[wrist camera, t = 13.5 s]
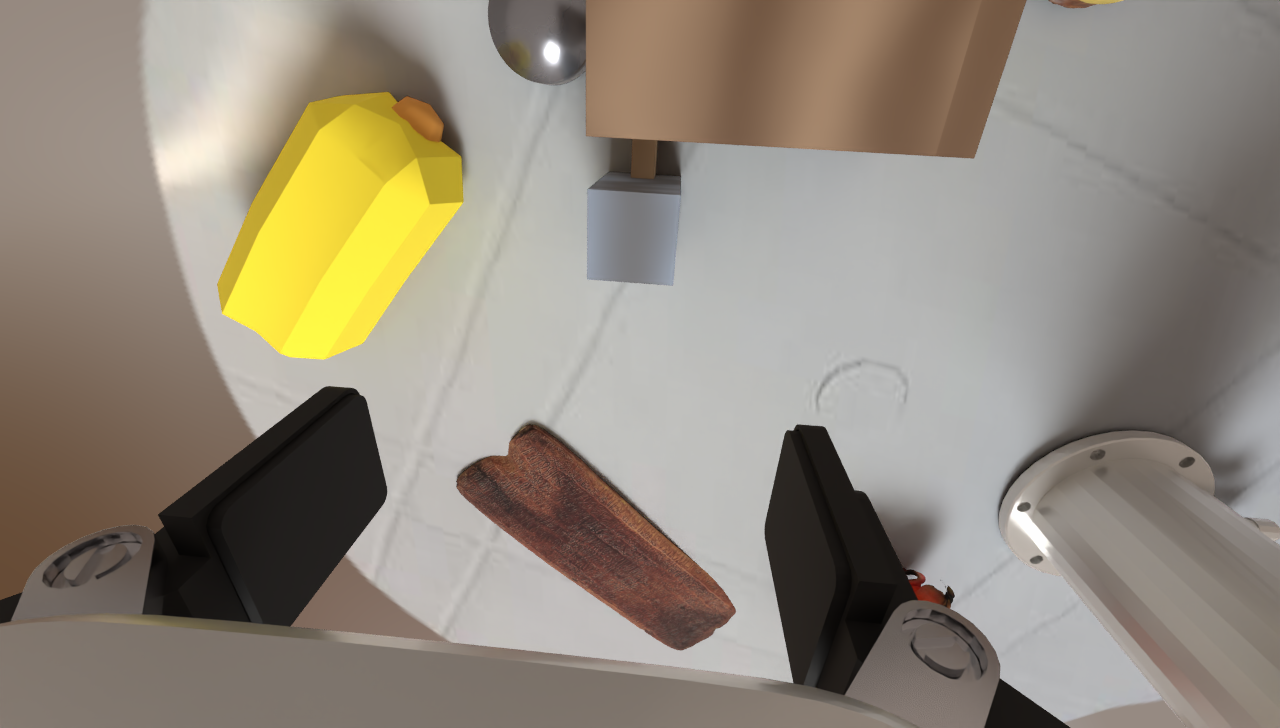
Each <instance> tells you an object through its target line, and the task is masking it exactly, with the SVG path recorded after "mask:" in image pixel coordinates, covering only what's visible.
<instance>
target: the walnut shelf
mask: <svg viewBox="0 0 1280 728" xmlns="http://www.w3.org/2000/svg"><path fill="white" fill-rule="evenodd" d="M1025 3H1026V0H586V136H593V137H610V138H628V139H645V140H662V141H680V142H697V143H715V144H732V145H749V146H767V147H784V148H802V149H819V150H836V151H854V152H871V153H888V154H906V155H923V156H941V157H958V158H974V157H975V154H976V151H977V148H978V145H979V142H980V139H981V136H982V133H983V130H984V127H985V124H986V121H987V118H988V115H989V112H990V109H991V106H992V103H993V100H994V97H995V94H996V91H997V88H998V85H999V82H1000V79H1001V76H1002V73H1003V70H1004V67H1005V64H1006V61H1007V58H1008V54H1009V51H1010V48H1011V45H1012V42H1013V39H1014V36H1015V33H1016V30H1017V27H1018V24H1019V21H1020V18H1021V15H1022V12H1023V9H1024V6H1025Z"/></svg>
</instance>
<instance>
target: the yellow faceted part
mask: <svg viewBox="0 0 1280 728" xmlns="http://www.w3.org/2000/svg"><path fill="white" fill-rule="evenodd" d="M443 127H444V124H443V122H442V121H441V119H440V118H439V117H438V115H437V114H436V112H435V111H434V110H433V108H432V107H431V106H430V104H427V103H424V102H422V101H419V100H416V99H414V98H411V97H408V96H406V97H405V98H403V99H402V100H400V101H399V102H397V101H396V100H395V99H394V97H393V96H392V95H391V94H390V93H389V92H381V93H369V94H356V95H343V96H337V97H332V98H328V99H323V100H319V101H314V102H310V103H309V104H308V105H307V107H306V109H305V111H304V113H303V114H302V116H301V118H300V120H299V121H298V123H297V125H296V127H295V128H294V130H293V132H292V134H291V135H290V137H289V139H288V141H287V142H286V144H285V146H284V148H283V149H282V151H281V153H280V155H279V156H278V158H277V160H276V162H275V163H274V165H273V167H272V169H271V171H270V172H269V174H268V176H267V178H266V179H265V181H264V183H263V185H262V186H261V188H260V190H259V192H258V193H257V195H256V197H255V199H254V200H253V202H252V204H251V206H250V209H249V211H248V213H247V216H246V218H245V220H244V223H243V225H242V228H241V230H240V232H239V235H238V237H237V239H236V242H235V244H234V246H233V249H232V251H231V253H230V256H229V258H228V260H227V263H226V265H225V267H224V270H223V272H222V274H221V277H220V279H219V281H218V284H217V286H218V292H219V298H220V304H221V310H222V314H224V315H226V316H228V317H229V318H231V319H233V320H235V321H237V322H239V323H241V324H243V325H245V326H247V327H249V328H250V329H252V330H254V331H256V332H257V333H258V334H259V335H260V336H262V337H263V338H264V339H265V340H266V341H267V342H268V343H269V344H270V345H271V346H272V347H273V348H275V349H276V350H277V351H278V352H279V353H280V354H283V355H286V356H288V357H297V358H311V359H327V358H329V357H331V356H334V355H336V354H339V353H341V352H343V351H346V350H348V349H351V348H353V347H355V346H358V345H360V344H363V342H364V341H365V339H366V338H367V336H368V335H369V334H370V332H371V331H372V329H373V328H374V326H375V325H376V323H377V322H378V320H379V319H380V317H381V316H382V314H383V313H384V311H385V310H386V308H387V307H388V305H389V304H390V303H391V301H392V300H393V298H394V297H395V295H396V294H397V292H398V291H399V289H400V288H401V286H402V285H403V283H404V282H405V280H406V279H407V278H408V276H409V275H410V274H411V272H412V271H413V270H414V268H415V267H416V266H417V264H418V263H419V262H420V260H421V259H422V257H423V256H424V255H425V253H426V252H427V251H428V249H429V248H430V247H431V245H432V244H433V243H434V241H435V240H436V239H437V237H438V236H439V234H440V233H441V232H442V230H443V229H444V228H445V226H446V225H447V224H448V222H449V221H450V220H451V218H452V217H453V216H454V214H455V213H456V212H457V210H458V209H459V207H460V206H461V205H462V203H463V182H462V160H461V156H460V155H459V154H457V153H456V152H455V151H453V150H452V149H451V148H449V147H448V146H447V145H445V144H444V143H443V142H441V139H442V133H443Z"/></svg>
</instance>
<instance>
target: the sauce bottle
mask: <svg viewBox="0 0 1280 728" xmlns="http://www.w3.org/2000/svg"><path fill="white" fill-rule="evenodd" d="M1049 1H1050V2H1052V3H1053V4H1058V5H1061V6H1064V7H1067V8H1086V7H1089V6H1092V5H1095V4H1109V3H1115V2H1119V1H1123V0H1049Z"/></svg>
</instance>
